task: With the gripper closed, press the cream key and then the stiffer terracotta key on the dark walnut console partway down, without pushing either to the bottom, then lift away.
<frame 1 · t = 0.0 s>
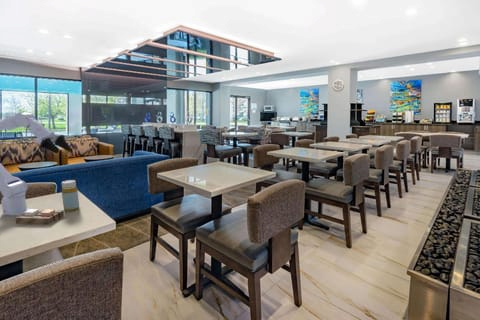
hand: (63, 150, 134), 32 cm above the table, tool tilted 50°, fingers open, 7 cm apart
terracotta key: (48, 214, 133), point 3 cm above the table, slide at 0.0 cm
cream key: (32, 213, 133), point 3 cm above the table, slide at 0.0 cm
bottle: (71, 209, 147), on the table
console: (41, 219, 133), on the table
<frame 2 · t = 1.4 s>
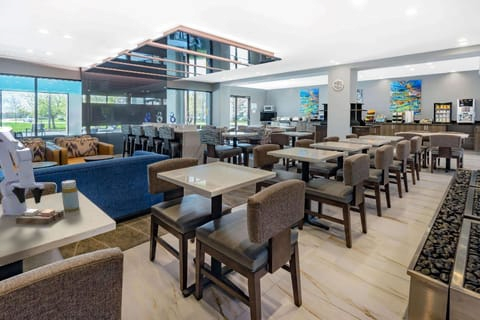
hand: (30, 202, 132), 8 cm above the table, tool pointing down, fingers open, 7 cm apart
nothing on the table moved.
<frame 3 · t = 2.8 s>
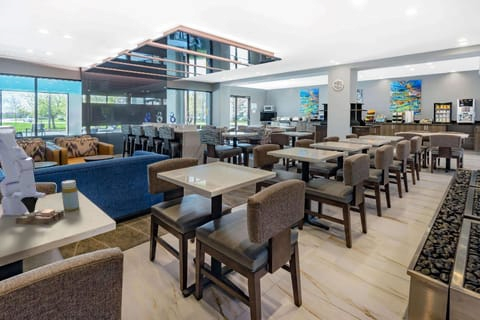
hand: (31, 211, 133), 4 cm above the table, tool pointing down, fingers closed, pressing on cream key
cream key: (32, 214, 133), point 2 cm above the table, slide at 0.6 cm, touching gripper
everything else where it was.
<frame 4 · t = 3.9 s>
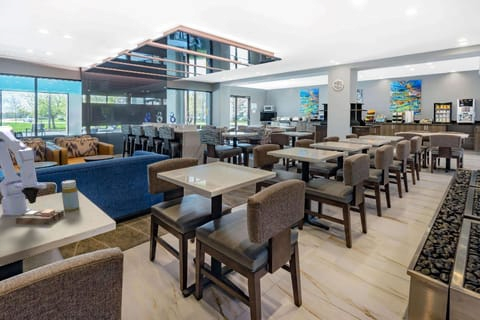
hand: (32, 202, 132), 8 cm above the table, tool pointing down, fingers closed
cream key: (32, 215, 133), point 2 cm above the table, slide at 0.8 cm
everything else where it was.
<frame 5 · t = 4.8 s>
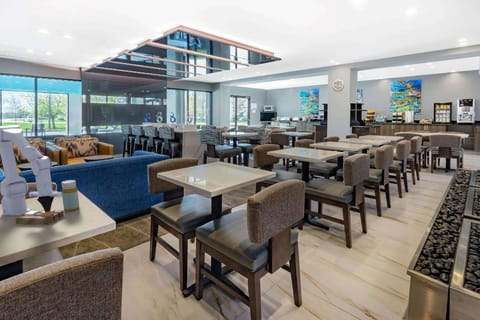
hand: (47, 211, 132), 4 cm above the table, tool pointing down, fingers closed, pressing on terracotta key
terracotta key: (48, 214, 133), point 3 cm above the table, slide at 0.0 cm, touching gripper
everything else where it was.
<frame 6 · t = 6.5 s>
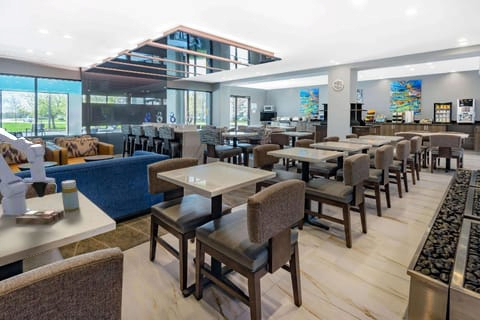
hand: (41, 196, 138), 9 cm above the table, tool pointing down, fingers closed
terracotta key: (48, 215, 133), point 2 cm above the table, slide at 0.7 cm
everything else where it was.
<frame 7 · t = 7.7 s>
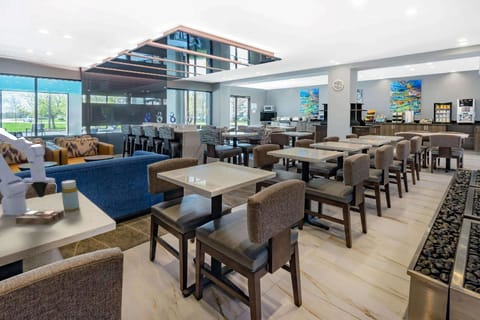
hand: (41, 196, 138), 9 cm above the table, tool pointing down, fingers closed
nothing on the table moved.
at the end: cream key slide at 0.8 cm; terracotta key slide at 0.7 cm; bottle moved 0.2 cm from its start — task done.
